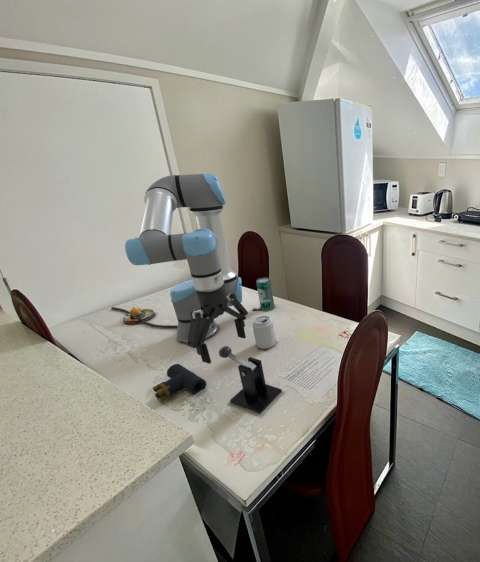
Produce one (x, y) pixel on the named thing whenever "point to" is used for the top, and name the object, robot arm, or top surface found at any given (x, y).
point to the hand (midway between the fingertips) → (225, 348)
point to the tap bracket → (254, 389)
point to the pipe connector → (179, 383)
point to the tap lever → (235, 358)
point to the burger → (138, 315)
